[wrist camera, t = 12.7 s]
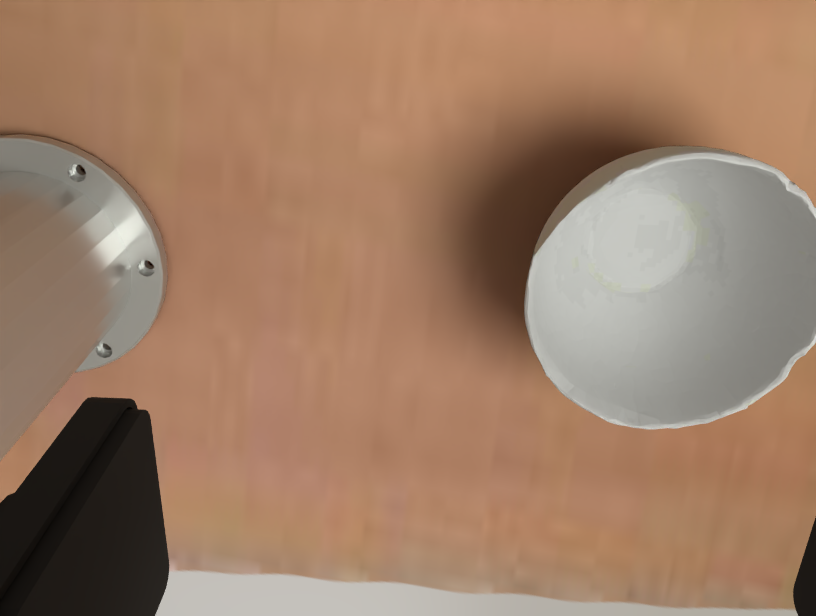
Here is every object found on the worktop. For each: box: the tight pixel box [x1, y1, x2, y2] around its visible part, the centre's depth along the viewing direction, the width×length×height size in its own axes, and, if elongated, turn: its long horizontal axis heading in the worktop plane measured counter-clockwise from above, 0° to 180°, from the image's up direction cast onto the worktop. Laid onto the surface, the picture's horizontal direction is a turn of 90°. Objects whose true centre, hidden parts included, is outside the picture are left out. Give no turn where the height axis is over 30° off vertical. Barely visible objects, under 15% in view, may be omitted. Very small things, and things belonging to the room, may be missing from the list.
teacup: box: [524, 146, 816, 429], centre depth 35 cm, size 15×12×8 cm
